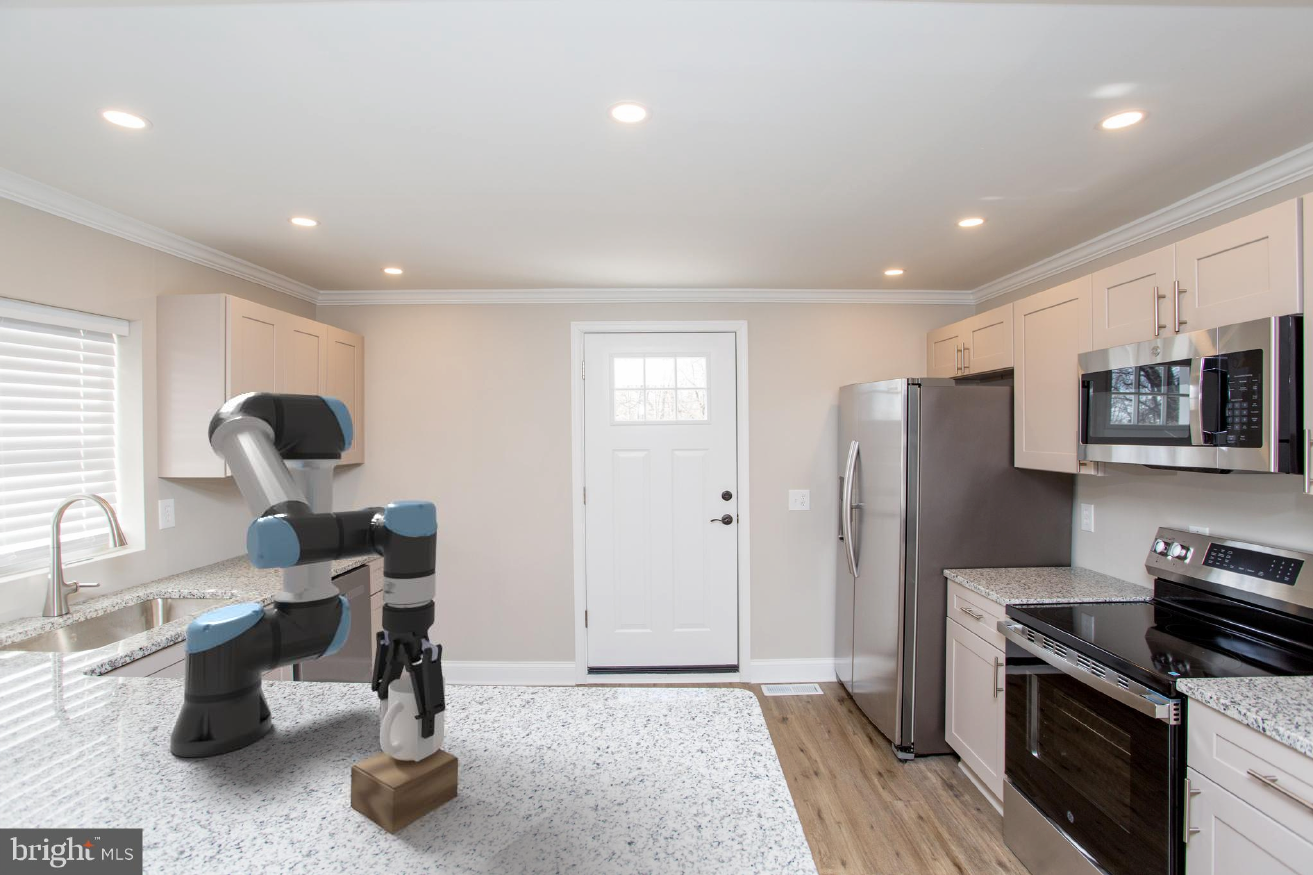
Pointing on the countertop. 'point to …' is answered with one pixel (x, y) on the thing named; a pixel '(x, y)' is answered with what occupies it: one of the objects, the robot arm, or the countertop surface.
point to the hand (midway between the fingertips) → (405, 747)
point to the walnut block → (402, 787)
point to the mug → (405, 721)
